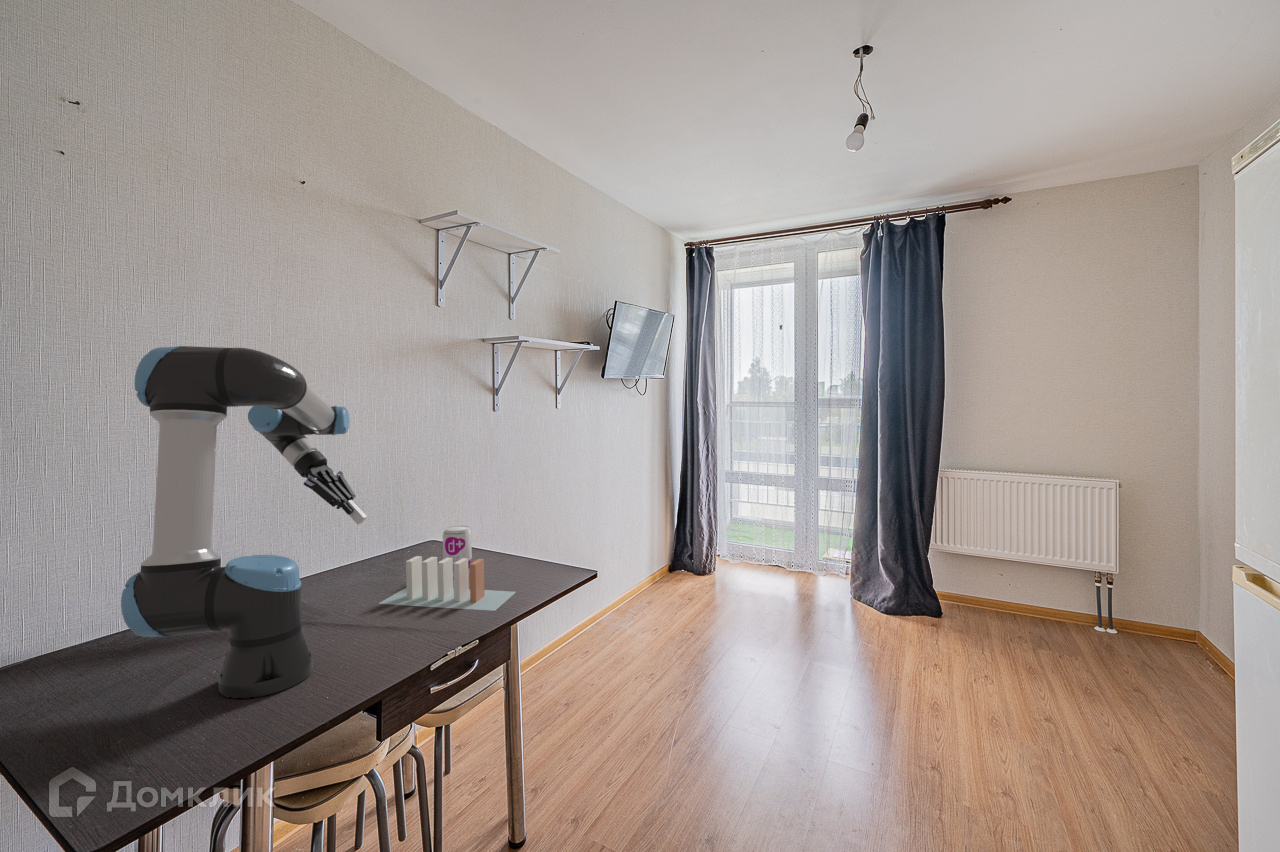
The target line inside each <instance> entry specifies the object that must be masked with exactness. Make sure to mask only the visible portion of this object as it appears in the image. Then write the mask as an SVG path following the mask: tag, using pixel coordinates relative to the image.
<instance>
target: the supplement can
mask: <svg viewBox="0 0 1280 852" xmlns="http://www.w3.org/2000/svg"><path fill="white" fill-rule="evenodd" d="M472 539H473V538H472V531H471V529H470V527H469V526H467V525H454V526H453V525H452V526H448V527H446V528H445V529H444V531H443V533H442V560H443V559H445V558H453V564H454V563H455V562H457V561H459V560H460V559H462V558H468V575H469V576H470V564H471V563H473V557H472V555H473V554H472V552H473V549H472V548H473V546H472V541H473V540H472ZM453 579H454V566H453Z"/></svg>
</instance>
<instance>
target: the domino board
mask: <svg viewBox="0 0 1280 852" xmlns="http://www.w3.org/2000/svg"><path fill="white" fill-rule="evenodd" d="M484 592H485V596H484V597H483V598H481V599H480V600H479V601H478V602H476V603H473V602H470V588H469V595H468V596H467V597H466V598H464V599H463V600H462V601H460V602H456V601H454V587H453V595H452V596H450V597H449V598H447V599H446V600H444V601H439V600H438V594H436V595H435V596H433V597H432V598H430V599H429V600H422V593H421V594H419V595H418V596H416V597H415V598H413V599H407V587H404V588H403V589H402V590H400V591H398V592H396V593H394V594H393V595H391V596H389V597H387V598H386V599H384V600H382V601H380V602H378V605H391V606H392V605H393V606H409V607H410V606H411V607H427V608H440V609H441V608H443V609H457V610H458V609H459V610H472V611H473V610H475V611H478V610H479V611H489V612H490V611H492V612H496V611H497V609H499V608H500V607H501V606H502V605H504V604H505V603H506V602H507V601H508V600H509V599H510V598H512V597H513V596H514V595H515V594H516V593H517V591H513V590H512V591H509V590H508V591H507V590H492V589H484Z"/></svg>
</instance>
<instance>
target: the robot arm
mask: <svg viewBox="0 0 1280 852" xmlns="http://www.w3.org/2000/svg"><path fill="white" fill-rule="evenodd" d="M134 391H136V392H137V393H136V397H137V399H138V401H139V402H140V403H141V404H142V405H143V406H145V407H149V416H150V417H152V418H153V419H154V420H155V421H156V422H158V424H159V429H158V430H159V431H158V432H159V433H158V447H157V448H158V451H157V465H156V467H157V468H156V485H155V501H154V502H155V503H154V520H153V536H152V538H153V540H152V552H151V554H150V555H149V556H148V557H147V558H145V560H143V561H142V562H141V563H140V571H139V572H137V573H135V574H133V575H131V576H130V577H129V578H128V579H127V581H126V583H125V584H124V587H125V588H123V590H122V592H121V599H120V607H121V615H122V619H123V621H124V623H125V625H126V626H127V628H128V629H129V630H130V631H131V632H132V633H133V634H135V635H137V636H139V637H143V638H156V637H159V638H160V637H163V638H170V637H173V636H178V635H179V636H180V635H181V636H182V635H190V634H203V633H212V632H213V633H214V632H222V631H227V633H228V650H227V653H226V656H225V658H224V662H223V665H222V670H221V672H220V673H219V677H218V692H220V693H221V694H222V695H221V694H220V693H219V694H220V695H221V696H223V695H224V696H223V697H225V696H228V697H232V698H231V699H237V698H243V699H250V697H254V698H259V697H264V696H267V695H268V696H269V695H271V694H276V693H280V692H282V691H284V690H285V691H286V690H287V689H289V688H292V687H294V686H296V685H298V684H300V683H302V682H303V681H304V680H306V679H308V678H309V676H310V675H311V674H312V673H313V671H314V661H313V659H314V658H313V655H312V653H311V652H310V651H309V649H308V645H307V642H306V640H305V637H304V635H303V631H302V606H301V605H302V603H301V600H302V599H301V598H302V597H301V594H302V593H301V587H302V581H301V578H300V567H299V564H298V563H297V561H295V560H294V559H292V558H289V557H287V556H283V555H277V554H276V555H275V554H253V555H250V556H249V555H243V556H238V557H236V558H233V559H231V560H229V561H227V563H226V565H225V566H221V565H222V562H221V561H222V560H221V559H222V556H221V555H220V554H218V553H217V552H216V551H215V550H213V548H212V545H213V544H212V542H213V523H214V522H213V521H214V496H215V477H216V476H215V474H216V453H217V452H216V451H217V450H216V449H217V428H218V427H217V426H218V425H219V424H220V423H221V422H223V421H224V420H225V419H227V417H228V414H227V413H228V408H230V407H234V408H235V407H237V408H238V407H251V408H250V409H249V411H248V413H247V421H248V423H249V424H250V425H251V426H252V428H253V429H254V430H255V431H256V432H258V433H259V434H261V436H262V437H264V439H266V440H267V441H268V442H269V443H270V444H272V446H273V447H275V449H277V451H278V452H279V453H280V454H281V456H282V457H283V458H285V459H286V461H287V462H288V463H289V464H290V465H291V466H292V467H293V469H294V470H295V471H296V472H297V473H298V474H299V475H300V477H302V478H304V479H305V478H306V480H305V481H304V482H303V484H302V485H304V486H305V487H307V488H309V489H310V490H312V491H313V492H315V493H316V494H317V495H318V496H319V497H320V498H322V499H323V500H324V501H325V502H326V503H327V504H329V505H330V506H331V507H336V508H335V509H336V510H340V509H342V510H343V511H344V513H346V514H347V515H348V516H349V517H350V518H351V519H352V520H353V522H354V523H355V524H356V525H360V524H362V523H363V522H364V521H366V519H367V518H368V516H367V515H366V513H364V511H362V509H361V508H360V507H359V506H358V505H357V504H356V502H355V501H354V499H355V498H356V494H355V492H354V491H353V489H352V488H351V486H350V485H349V483H348V481H347V480H346V478H345V476H344V473H343V471H338V472H335V471H334V470H333V468H331V467H330V466H328V459H327V458H326V457H325V456H324V455H323V454H322V452H321V451H319V450H318V448H317V447H316V446H315V444H313V443H312V441H311V440H310V439H309V438H308V437H307V436H315V435H316V436H318V435H319V436H320V435H321V436H323V435H324V436H325V435H326V436H327V435H328V436H329V435H331V436H335V435H345V434H346V433H348V431H349V428H350V413H349V411H348V410H349V409H347V408H346V407H345V406H337V405H334V406H331V405H330V404H328V403H327V401H325V400H324V399H323V398H322V397H320V396H319V395H318V394H317V393H316V392H315V391H314V390H313V389H312V388H310V387H309V386H308V383H307V380H306V378H305V376H304V375H303V374H302V373H301V372H300V371H299V370H298V369H296V367H294V366H293V365H291V364H289V363H287V362H286V361H284V360H283V359H280V358H279V357H276V356H274V355H272V354H269V353H266V352H264V351H261V350H256V349H254V348H253V349H252V348H246V347H220V346H219V347H217V346H215V347H214V346H212V347H211V346H192V345H191V346H186V345H185V346H184V345H176V346H161V347H160V346H159V347H155V348H154V349H151V350H149V351H148V353H146V354H144V356H143V357H142V358H141V359H140V361H139V362H138V365H137V367H136V371H135V375H134ZM228 697H227V698H228Z"/></svg>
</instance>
